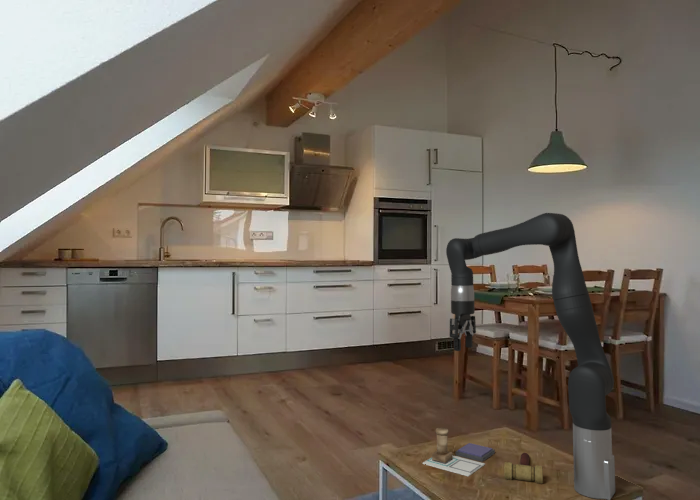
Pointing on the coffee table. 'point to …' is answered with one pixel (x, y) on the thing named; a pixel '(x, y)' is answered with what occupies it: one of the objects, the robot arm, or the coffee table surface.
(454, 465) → the sheet
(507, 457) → the coffee table surface
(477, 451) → the ink pad
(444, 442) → the stamp
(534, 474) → the gavel
